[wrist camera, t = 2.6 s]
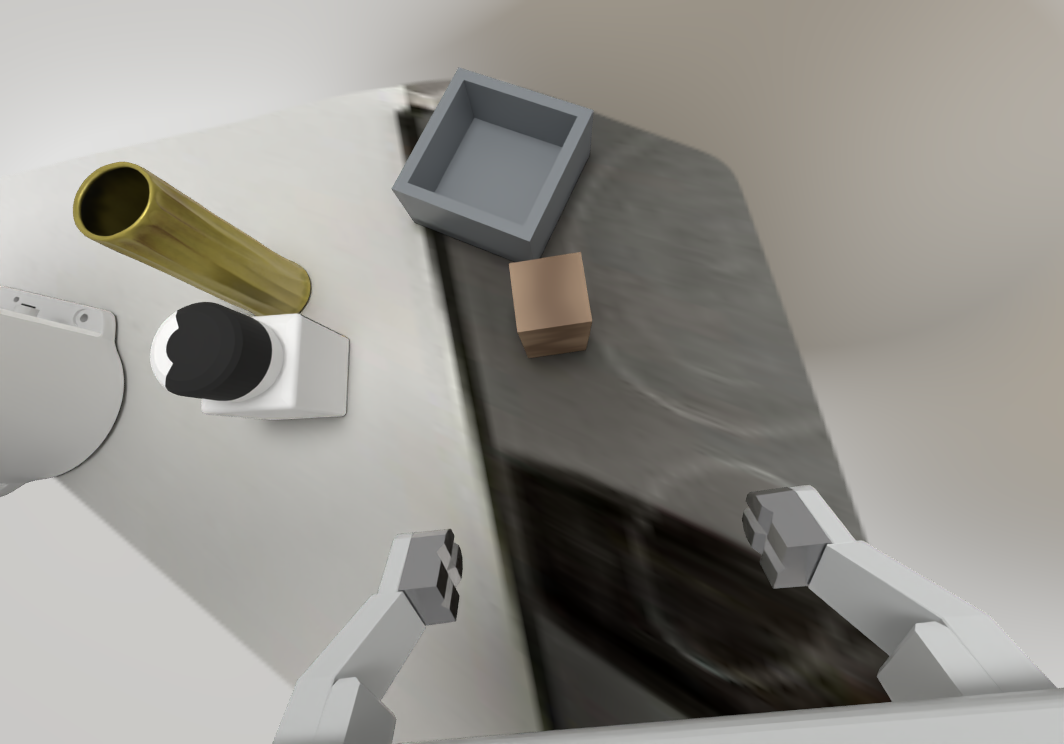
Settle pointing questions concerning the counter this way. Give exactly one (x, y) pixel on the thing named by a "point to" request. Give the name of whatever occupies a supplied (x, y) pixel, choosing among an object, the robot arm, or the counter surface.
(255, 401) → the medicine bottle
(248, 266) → the vase
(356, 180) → the counter surface
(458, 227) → the bin
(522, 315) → the block
